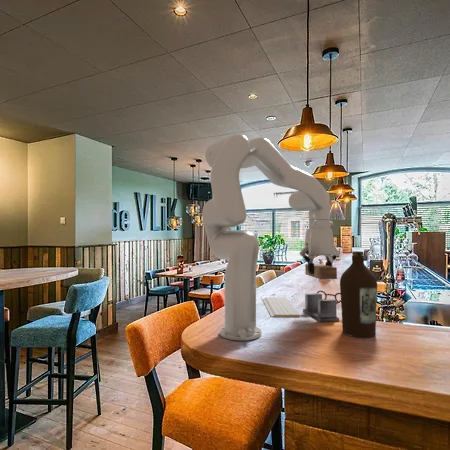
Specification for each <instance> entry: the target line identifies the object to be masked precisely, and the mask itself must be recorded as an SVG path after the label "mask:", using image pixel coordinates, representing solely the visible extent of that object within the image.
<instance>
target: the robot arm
mask: <svg viewBox="0 0 450 450" xmlns="http://www.w3.org/2000/svg"><path fill="white" fill-rule="evenodd" d="M204 157H205V161H206V163H207V165H208V166H209V167H211V170H210V171H211V172H210V185H211V187H210V188H211V191H212V195H213V198H211V199H209V200H207V201H206V203H205V204H204V206H203V208H202V213H201V217H202V222H203V228H204V231H205V234H206V239H207V243H208V245H209V248H210V252H211V253H212V254H213V256H215V258H218V259H220V260H224V261H228V262H227V265H226V268H225V272H224V326H223V327H221V328H220V329H219V335H220V337H222V338H223V339H227V340H230V341H240V342H241V341H252V340H256V339H259V338H260V337H261V336H262V330H261V328H259V327H257V264H258V263H257V262H258V258H259V251H260V242H259V240H258V238H257V236H256V235H255V234H254V233H253V232H251V231H248V230H243V229H238V230H237V229H235V230H234V229H232V228H235V227H239V226H241V225H243V224H244V223H245V221H246V220H247V209H246V204H245V201H244V197H243V192H242V188H241V182H240V171H241V169H247V168H252V167H256V168H258V170H259V171H260V172H261V173H262V174H263V175H264V176H265V177H266V178H267V179H268V180H269V181H270V182H271V183H272V184H273V185H275V186H278V187H283V188H288V189H293V190H295V191H294V192H293V193H291V194H290V195H289V196H288V204H289V207H290V208H291V209H292V210H294V211H295V212H308V228H306V232H305V236H304V247H303V248H302V249H301V250H300V251H299V255H300V256H301V257H302V258H303V259H304V260H305V262H306V264H308V272H309V273H310V274H314V264H315V263H314V259H315V256H321V257H322V256H324V257H325V260H326V262H325V265H327V266H332V267H333V263H334V261H335V260H336V258H337V257H338V256H339V255H340V253H341V252H340V251H339V250H338V249H337V247H336V246H335V241H334V240H335V239H334V233H333V229H332V228H331V226H333V225H334V222H333V221H331V207H330V205H331V204H330V202H331V198H330V197H331V196H330V193H329V192H328V191H326V188H325V187H324V186H323V184H321V182H320V181H319V180H318V179H317V178H316V177H314V176H313V175H312V174H310V173H308V172H306V171H304V170H301V169H299V168H297V167H295V166H292V165H291V164H290V163H289V162H288V160H287V159H285V157H284V156H283V155H282V154H281V152H280V151H279V150H278V149H277V148H276V147H275V145H274V144H273V143H272V142H271V141H270V140H269V139H268V138H266V137H261V136H260V137H256V138H253V139H250V140H249V139H248V137H247V136H246V135H244V134H241V133H235V134H231V135H228V136H226V137H224V138H222V139H220V140H217V141H215V142H212V143H211V144H210V145H208V146H207V148H206V150H205V153H204ZM307 255H308V256H307Z"/></svg>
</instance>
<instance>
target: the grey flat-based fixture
mask: <svg viewBox="0 0 450 450" xmlns="http://www.w3.org/2000/svg"><path fill="white" fill-rule="evenodd" d="M316 293H317V292H316ZM316 293H305V295H304V300H305V302H304V303H305V304H304V306H305V308H303V309H302V311H303V313H305V314H307V315H308V316H310V317H311V318H313V319H315V320H316V321H318V322H320V323H327V322H329V321H331V322H340V317H338V315H337V312H338V311H337V304H336V300H335V298H330V299H329V298H328V299H327V298H326V299H325V298H324V299H325V300H322V299H323V293H321V292H319V293H317V294H316Z"/></svg>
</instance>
